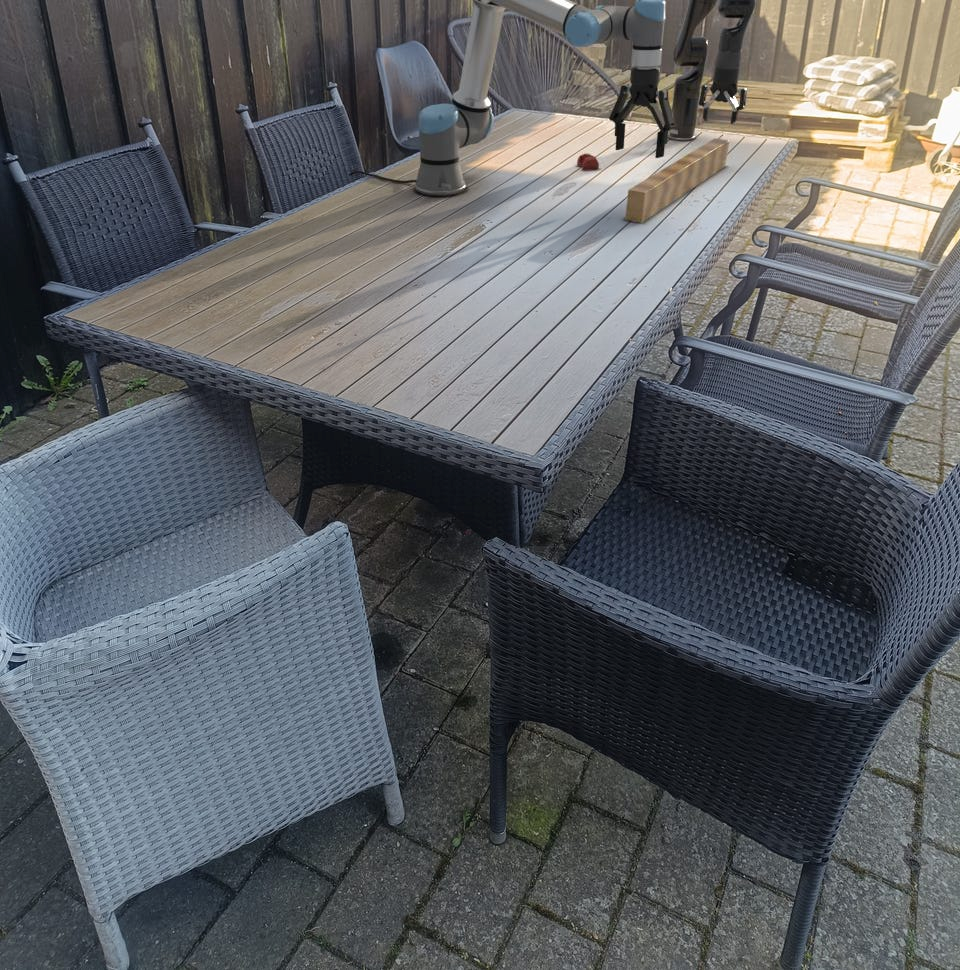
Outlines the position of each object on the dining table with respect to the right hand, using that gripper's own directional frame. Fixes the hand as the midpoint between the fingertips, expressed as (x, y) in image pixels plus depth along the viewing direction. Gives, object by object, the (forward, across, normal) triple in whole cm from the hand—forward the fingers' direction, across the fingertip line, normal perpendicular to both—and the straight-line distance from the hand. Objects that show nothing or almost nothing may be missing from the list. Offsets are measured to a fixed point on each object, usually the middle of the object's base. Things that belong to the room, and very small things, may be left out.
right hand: (719, 122), depth 268 cm
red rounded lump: (+14, +36, +19) cm, 43 cm away
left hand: (-2, +4, +57) cm, 57 cm away
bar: (+15, +1, +28) cm, 32 cm away
